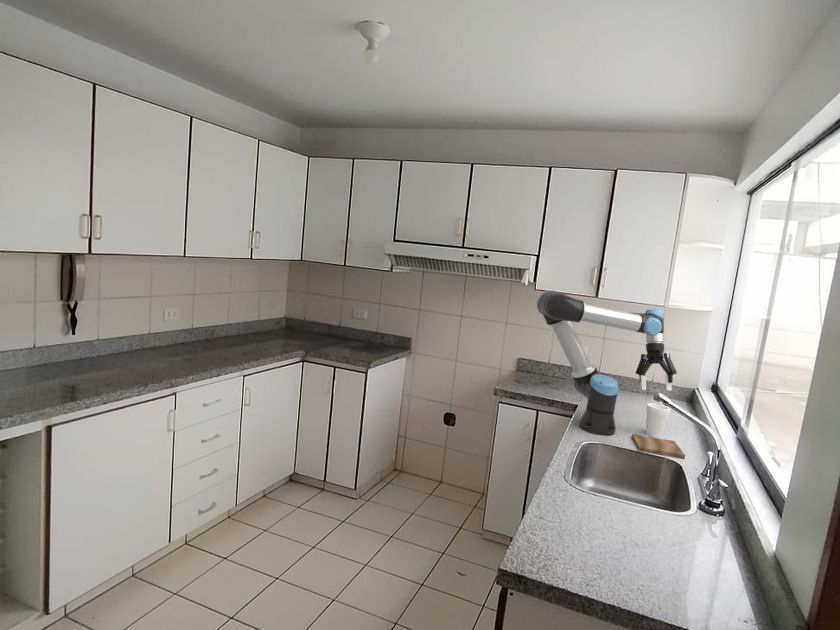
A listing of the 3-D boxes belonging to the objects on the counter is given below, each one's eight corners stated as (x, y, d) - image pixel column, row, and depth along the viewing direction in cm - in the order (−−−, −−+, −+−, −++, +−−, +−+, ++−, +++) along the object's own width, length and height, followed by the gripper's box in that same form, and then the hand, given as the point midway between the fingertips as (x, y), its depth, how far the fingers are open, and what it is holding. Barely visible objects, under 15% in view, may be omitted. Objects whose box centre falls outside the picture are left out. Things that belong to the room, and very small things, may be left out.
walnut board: (639, 450, 206) (639, 447, 206) (631, 437, 221) (632, 433, 221) (684, 458, 203) (685, 455, 202) (673, 444, 218) (674, 441, 218)
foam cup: (667, 440, 222) (672, 411, 221) (645, 436, 224) (650, 407, 222) (662, 432, 232) (667, 405, 230) (640, 429, 233) (645, 401, 232)
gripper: (684, 342, 225) (686, 391, 222) (638, 345, 247) (639, 389, 244) (672, 340, 222) (673, 390, 219) (627, 344, 244) (627, 389, 241)
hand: (655, 390), depth 232 cm, fingers open, 13 cm apart
